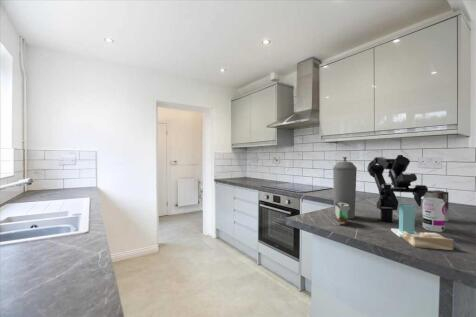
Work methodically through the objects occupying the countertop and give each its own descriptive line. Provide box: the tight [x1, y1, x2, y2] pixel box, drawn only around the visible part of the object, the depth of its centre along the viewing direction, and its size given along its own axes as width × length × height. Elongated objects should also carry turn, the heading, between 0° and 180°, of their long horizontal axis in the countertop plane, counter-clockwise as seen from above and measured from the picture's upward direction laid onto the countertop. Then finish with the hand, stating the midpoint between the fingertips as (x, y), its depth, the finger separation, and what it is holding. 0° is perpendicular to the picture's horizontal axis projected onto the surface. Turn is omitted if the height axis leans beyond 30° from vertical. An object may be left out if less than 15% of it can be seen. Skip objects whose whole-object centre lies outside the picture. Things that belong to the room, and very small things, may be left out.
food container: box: [334, 202, 350, 226], centre depth 123 cm, size 12×6×10 cm, turn 168°
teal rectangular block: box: [398, 203, 416, 234], centre depth 105 cm, size 4×4×12 cm
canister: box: [332, 156, 358, 220], centre depth 134 cm, size 13×13×35 cm
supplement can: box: [421, 197, 446, 233], centre depth 112 cm, size 8×8×15 cm
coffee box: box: [423, 189, 449, 222], centre depth 128 cm, size 9×6×16 cm
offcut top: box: [423, 232, 445, 238], centre depth 94 cm, size 7×4×2 cm, turn 169°
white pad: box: [390, 228, 420, 238], centre depth 105 cm, size 9×9×1 cm
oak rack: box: [402, 231, 454, 251], centre depth 94 cm, size 10×13×4 cm
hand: (408, 205), depth 104 cm, fingers open, 9 cm apart
